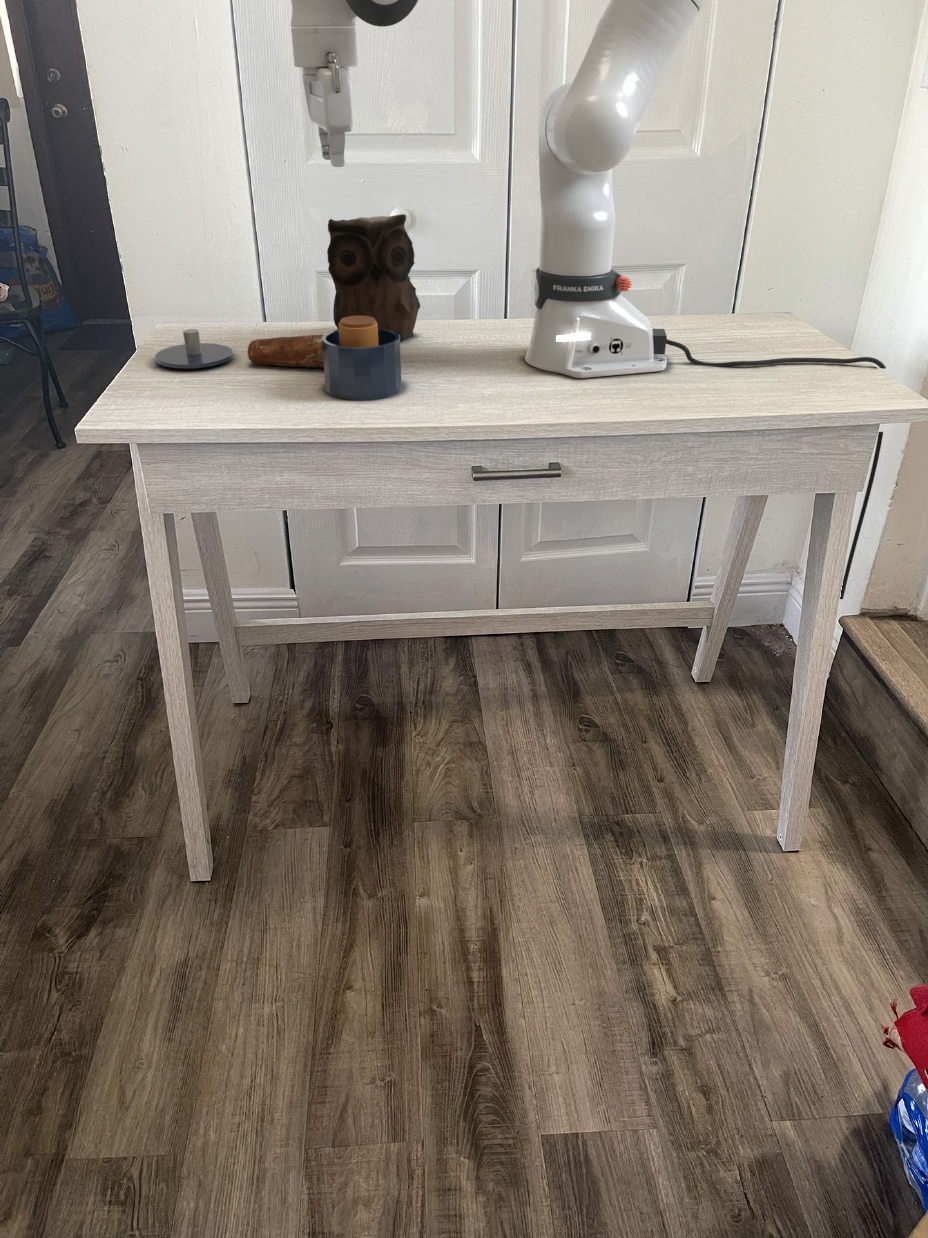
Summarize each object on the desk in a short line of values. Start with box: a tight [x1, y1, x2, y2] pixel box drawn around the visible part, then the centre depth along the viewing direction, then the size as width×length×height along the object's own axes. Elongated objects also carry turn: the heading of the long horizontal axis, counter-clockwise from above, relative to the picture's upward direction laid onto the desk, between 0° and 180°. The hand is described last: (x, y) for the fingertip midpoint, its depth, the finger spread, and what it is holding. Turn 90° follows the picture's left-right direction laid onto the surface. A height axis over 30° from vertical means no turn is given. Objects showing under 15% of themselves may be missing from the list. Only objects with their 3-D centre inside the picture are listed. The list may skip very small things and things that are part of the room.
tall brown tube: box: [338, 316, 378, 347], centre depth 138 cm, size 6×6×10 cm
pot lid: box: [154, 328, 234, 370], centre depth 151 cm, size 12×12×5 cm
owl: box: [326, 213, 421, 342], centre depth 158 cm, size 13×13×20 cm
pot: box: [322, 328, 402, 401], centre depth 138 cm, size 11×11×8 cm
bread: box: [247, 333, 326, 369], centre depth 148 cm, size 6×19×6 cm, turn 80°
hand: (333, 162), depth 138 cm, fingers open, 8 cm apart
